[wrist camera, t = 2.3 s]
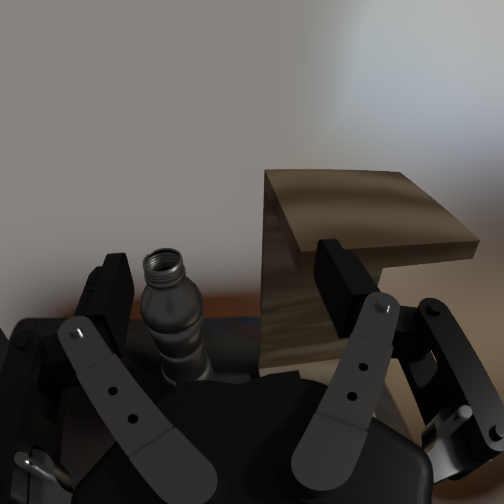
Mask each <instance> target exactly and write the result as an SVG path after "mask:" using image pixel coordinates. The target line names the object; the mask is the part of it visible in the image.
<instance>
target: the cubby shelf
mask: <svg viewBox="0 0 504 504" xmlns="http://www.w3.org/2000/svg"><path fill="white" fill-rule="evenodd" d="M334 238H336V239H337V240H338V241H339V242H340V244H341V246H342V247H343V249H349V250H350V251H352V252H353V253H354V254H356V255H357V256H358V257H359V259H360V260H361V262H362V263H363V265H364V267H365V268H366V270H367V272H368V273H369V274H370V276H371V277H372V279H373V280H374V282H375V284H376V285H378V282H379V279H380V276H381V273H382V269H383V268H387V267H398V266H408V265H418V264H427V263H437V262H445V261H455V260H464V259H472V258H473V256H474V254H475V251H476V249H477V246H478V244H479V241H480V240H479V239H478V238H477V237H476V236H475V235H474V234H473V233H472V232H470V231H469V230H468V229H467V228H466V227H465V226H464V225H463V224H462V223H460V222H459V221H458V220H457V219H456V218H455V217H454V216H453V215H452V214H451V213H449V212H448V211H447V210H446V209H445V208H444V207H442V206H441V205H440V204H439V203H437V201H435V200H434V199H433V198H432V197H431V196H429V195H428V194H427V193H426V192H424V191H423V190H422V189H421V188H419V187H418V186H417V185H416V184H414V183H413V182H412V181H411V180H409V179H408V178H407V177H405V176H404V175H403V174H401V173H400V172H389V171H368V170H332V169H331V170H330V169H327V170H326V169H276V170H265V174H264V208H263V239H262V269H261V297H260V323H259V348H258V371H259V377H262V376H265V375H268V374H273V373H281V372H288V371H295V370H299V373H300V377H301V378H303V379H310V380H314V381H318V382H320V383H323V384H325V385H327V386H329V384H330V381H331V379H332V377H333V375H334V373H335V370H336V368H337V366H338V364H339V361H340V359H341V357H342V355H343V352H344V350H345V348H346V345H347V343H348V340H349V338H343V339H339V337H338V335H337V332H336V330H335V328H334V325H333V323H332V321H331V318H330V316H329V314H328V311H327V309H326V307H325V304H324V302H323V300H322V297H321V295H320V293H319V291H318V288H317V286H316V284H315V281H314V274H313V270H314V263H315V256H316V250H317V243H318V241H319V240H320V239H334ZM373 417H375V418H376V416H375V413H373Z"/></svg>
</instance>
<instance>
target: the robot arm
mask: <svg viewBox="0 0 504 504" xmlns="http://www.w3.org/2000/svg"><path fill="white" fill-rule="evenodd" d="M313 274H314V281H315V284H316V286H317V288H318V291H319V293H320V295H321V297H322V300H323V302H324V304H325V307H326V309H327V311H328V314H329V316H330V318H331V321H332V323H333V325H334V328H335V330H336V332H337V335H338V337H339V339H343V338H349V340H348V343H347V345H346V348H345V350H344V352H343V355H342V357H341V359H340V361H339V364H338V366H337V368H336V370H335V373H334V375H333V377H332V379H331V381H330V384H329V386H327V385H325V384H323V383H320V382H318V381H314V380H310V379H303V378H301V377H300V373H299V370H295V371H288V372H281V373H273V374H268V375H265V376H262V377H259V378H256V379H253V380H250V381H247V382H244V383H241V384H232V383H224V382H217V381H210V380H197V381H176V390H175V391H171V392H169V393H166V394H164V395H162V396H160V397H158V398H157V399H155V400H154V401H153V402H152V401H151V399H150V398H149V397H148V396H147V395H146V393H145V392H144V391H143V390H142V388H141V387H140V386H139V385H138V383H137V382H136V381H135V379H134V378H133V377H132V376H131V374H130V373H129V372H128V370H127V369H126V368H125V366H124V365H123V364H122V362H121V361H120V359H119V358H118V357H123V355H124V348H125V342H126V336H127V330H128V325H129V319H130V314H131V308H132V304H133V299H134V283H133V279H132V276H131V272H130V268H129V264H128V260H127V256H126V254H125V253H112V254H107V255H106V258H105V260H104V263H103V265H102V266H99V267H96V268H95V269H94V270H93V271H92V272H91V274H89V277H88V279H87V282H86V285H85V287H84V290H83V293H82V295H81V298H80V300H79V303H78V306H77V309H76V311H75V314H74V317H71V318H69V319H68V320H66V321H65V322H64V323H63V324H62V325H61V326H60V328H59V331H58V333H56V334H53V335H50V336H46V337H43V338H40V337H39V335H38V334H37V333H36V332H35V331H33V330H24V331H21V332H19V333H18V334H17V335H15V336H14V338H13V339H12V340H11V342H9V340H8V339H7V337H6V336H5V334H4V333H3V331H2V330H1V328H0V504H431V500H432V491H433V486H434V485H436V484H438V483H440V482H442V481H445V480H447V479H449V480H459V479H461V478H463V477H465V476H467V475H468V474H470V473H472V472H473V471H475V470H476V469H478V468H480V467H481V466H483V465H484V464H485V463H487V462H489V461H490V460H492V459H493V458H495V457H496V456H498V455H499V454H500V453H502V452H503V451H504V405H503V403H502V401H501V399H500V397H499V395H498V393H497V391H496V389H495V387H494V386H493V383H492V382H491V380H490V378H489V376H488V374H487V373H486V370H485V369H484V367H483V365H482V363H481V361H480V360H479V358H478V356H477V354H476V353H475V351H474V349H473V347H472V346H471V344H470V342H469V341H468V339H467V337H466V336H465V334H464V332H463V331H462V329H461V328H460V326H459V324H458V323H457V321H456V320H455V318H454V316H453V315H452V314H451V312H450V310H449V309H448V307H447V306H446V305H445V304H444V303H443V302H441V301H439V300H437V299H434V298H425V299H423V300H421V302H420V303H419V306H418V308H417V307H407V306H400V305H399V303H398V301H397V300H396V299H395V298H394V297H392V296H391V295H389V294H386V293H383V292H380V290H379V288H378V287H377V285H376V284H375V282H374V280H373V279H372V277H371V276H370V274H369V273H368V272H367V270H366V268H365V267H364V265H363V263H362V262H361V260H360V259H359V257H358V256H357V255H356V254H354V253H353V252H352V251H350V250H349V249H343V247H342V246H341V244H340V242H339V241H338V240H337V239H336V238H334V239H320V240H319V241H318V243H317V250H316V256H315V263H314V270H313ZM431 350H432V352H433V354H434V356H435V358H436V361H437V363H436V361H435V359H434V357H433V355H432V353H431ZM391 358H397V359H398V360H399V362H400V364H401V367H402V369H403V371H404V374H405V376H406V379H407V381H408V383H409V386H410V388H411V391H412V393H413V395H414V398H415V400H416V403H417V405H418V408H419V410H420V413H421V416H422V418H423V421H424V423H425V428H424V429H423V431H422V435H421V440H422V446H421V447H422V448H421V447H420V446H418V445H417V444H415V443H414V442H412V441H411V440H409V439H407V438H406V437H404V436H403V435H401V434H400V433H398V432H396V431H395V430H393V429H392V428H390V427H389V426H387V425H386V424H384V423H382V422H381V421H379V420H378V419H376V418H375V417H373V413H374V410H375V407H376V405H377V402H378V398H379V395H380V392H381V389H382V386H383V383H384V379H385V376H386V373H387V369H388V365H389V362H390V359H391ZM79 385H82V387H83V388H84V390H85V392H86V394H87V395H88V397H89V399H90V400H91V402H92V404H93V405H94V407H95V409H96V410H97V412H98V413H99V415H100V417H101V418H102V420H103V421H104V423H105V424H106V426H107V427H108V429H109V430H110V432H111V433H112V435H113V436H114V438H115V439H116V440H117V441H116V442H115V443H114V444H113V446H112V447H111V448H110V449H109V450H108V451H107V452H106V453H105V454H104V456H103V457H102V458H101V459H100V460H99V461H98V462H97V463H96V464H95V466H94V467H93V468H92V469H91V470H90V471H89V472H88V473H87V474H86V476H85V477H84V478H83V479H82V480H81V481H80V482H79V483H78V485H77V486H76V488H75V490H74V491H73V489H72V487H71V484H70V477H69V473H68V471H67V470H66V468H65V467H64V466H63V465H62V464H60V456H61V443H62V433H63V424H64V415H65V408H66V400H67V394H68V388H71V387H75V386H79Z"/></svg>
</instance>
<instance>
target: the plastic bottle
mask: <svg viewBox="0 0 504 504" xmlns="http://www.w3.org/2000/svg"><path fill="white" fill-rule="evenodd" d="M143 269H144V273H145V274H144V277H145V281H146V283H147V285H146V287H145V289H144V291H143V293H142V296H141V300H140V301H141V302H140V313H141V315H142V318H143V320H144V322H145V324H146V326H147V328H148V330H149V332H150V333H151V335H152V337H153V339H154V342H155V344H156V347H157V349H158V352H159V356H160V361H161V373H162V379H163V382H164V384H165V386H166V387H167V389H168V390H169V391H170V392H171V391H175V390H176V381H197V380H210V381H212V377H213V368H212V365H211V363H210V360H209V358H208V356H207V354H206V350H205V347H204V343H203V334H202V319H203V298H202V295H201V292H200V291H199V289H198V287H197V285H196V284H195V283H194V282H192V281H191V280H190V279H189V278H188V277H186V276H185V275H186V274H185V273H186V272H185V267H184V265H183V259H182V256H181V254H180V252H179V251H177V250H175V249H172V248H162V249H157V250H154V251H152V252H150V253H149V254H148V255H146V257H145V258H144V260H143Z"/></svg>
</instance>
